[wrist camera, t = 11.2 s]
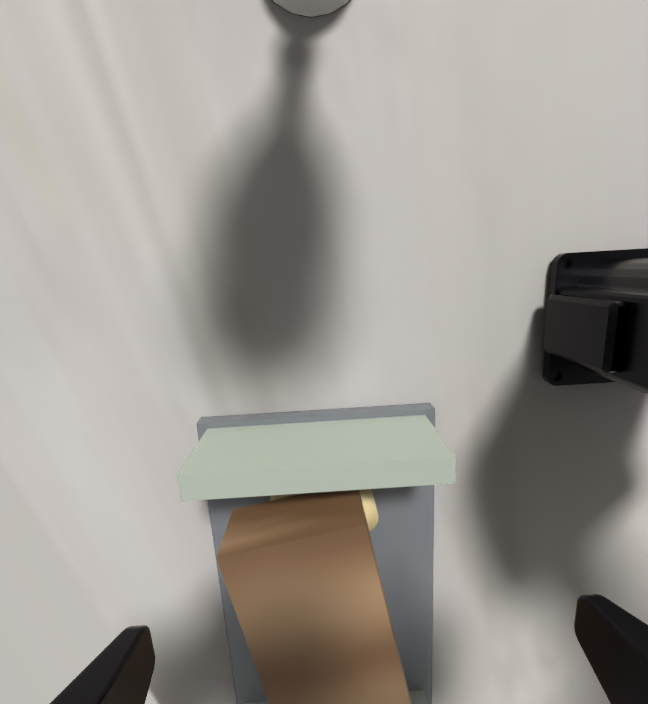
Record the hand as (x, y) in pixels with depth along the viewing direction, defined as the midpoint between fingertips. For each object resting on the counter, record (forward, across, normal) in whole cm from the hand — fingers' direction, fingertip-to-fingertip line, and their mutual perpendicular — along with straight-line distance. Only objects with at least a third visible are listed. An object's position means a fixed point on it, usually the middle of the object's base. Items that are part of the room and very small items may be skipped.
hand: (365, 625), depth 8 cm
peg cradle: (+12, +1, +10) cm, 16 cm away
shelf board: (+9, +1, +10) cm, 14 cm away
